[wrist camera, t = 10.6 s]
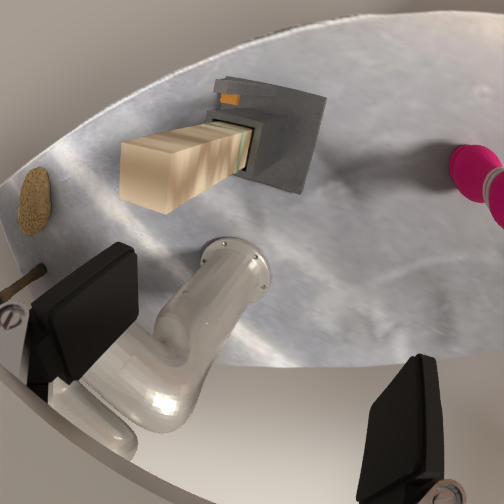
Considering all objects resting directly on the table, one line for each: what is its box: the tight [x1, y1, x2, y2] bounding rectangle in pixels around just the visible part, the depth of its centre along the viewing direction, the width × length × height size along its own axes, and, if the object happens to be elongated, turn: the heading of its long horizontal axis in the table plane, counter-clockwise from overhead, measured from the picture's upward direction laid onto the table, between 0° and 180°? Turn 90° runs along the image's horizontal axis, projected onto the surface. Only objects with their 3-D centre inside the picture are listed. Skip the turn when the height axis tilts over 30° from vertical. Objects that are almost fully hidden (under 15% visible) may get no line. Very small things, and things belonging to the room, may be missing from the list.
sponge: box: [18, 167, 51, 236], centre depth 62 cm, size 13×8×20 cm
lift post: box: [119, 121, 255, 214], centre depth 27 cm, size 4×4×20 cm
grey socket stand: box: [205, 76, 327, 195], centre depth 34 cm, size 14×14×18 cm
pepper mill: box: [449, 145, 504, 229], centre depth 26 cm, size 7×7×20 cm
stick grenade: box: [0, 264, 47, 305], centre depth 65 cm, size 8×9×30 cm
